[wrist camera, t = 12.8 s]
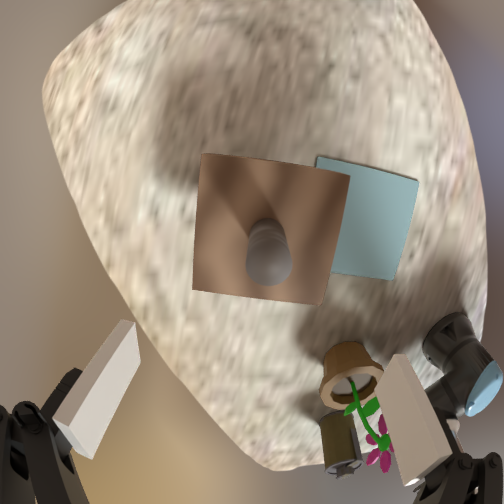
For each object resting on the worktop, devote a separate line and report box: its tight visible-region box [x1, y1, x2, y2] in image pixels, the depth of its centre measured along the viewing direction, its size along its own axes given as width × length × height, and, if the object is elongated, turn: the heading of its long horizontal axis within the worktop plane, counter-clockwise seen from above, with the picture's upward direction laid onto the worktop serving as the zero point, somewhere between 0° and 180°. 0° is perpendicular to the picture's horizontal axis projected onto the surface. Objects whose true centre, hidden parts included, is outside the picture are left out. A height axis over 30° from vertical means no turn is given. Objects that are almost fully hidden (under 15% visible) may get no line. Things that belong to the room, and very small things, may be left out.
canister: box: [319, 411, 364, 479], centre depth 58 cm, size 11×10×20 cm
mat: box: [316, 157, 419, 281], centre depth 46 cm, size 20×20×1 cm
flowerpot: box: [319, 342, 394, 473], centre depth 44 cm, size 14×14×30 cm
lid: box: [192, 154, 351, 305], centre depth 30 cm, size 17×17×13 cm
